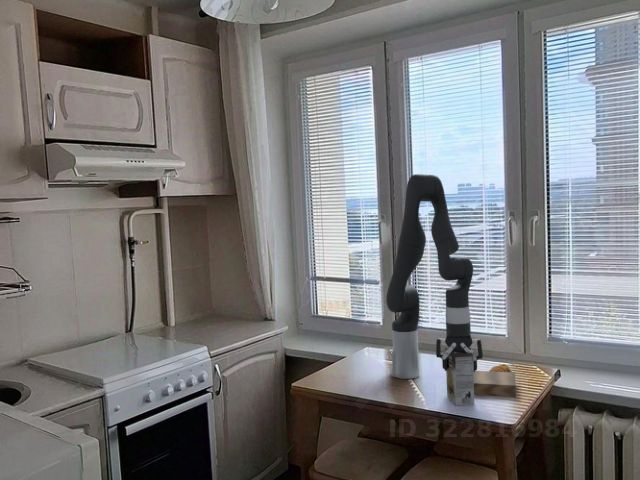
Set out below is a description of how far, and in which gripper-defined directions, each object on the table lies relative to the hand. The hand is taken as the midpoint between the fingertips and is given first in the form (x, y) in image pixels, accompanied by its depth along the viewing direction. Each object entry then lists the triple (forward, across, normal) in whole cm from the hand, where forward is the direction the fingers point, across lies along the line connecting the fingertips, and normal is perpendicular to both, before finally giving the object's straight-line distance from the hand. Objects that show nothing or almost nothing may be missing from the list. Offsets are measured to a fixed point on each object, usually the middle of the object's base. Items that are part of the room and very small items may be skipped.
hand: (460, 371), depth 177 cm
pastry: (+10, +12, +29) cm, 33 cm away
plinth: (+10, +10, +13) cm, 19 cm away
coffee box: (+10, 0, 0) cm, 10 cm away
